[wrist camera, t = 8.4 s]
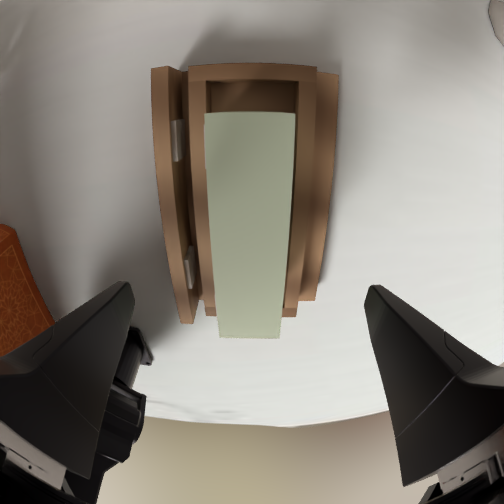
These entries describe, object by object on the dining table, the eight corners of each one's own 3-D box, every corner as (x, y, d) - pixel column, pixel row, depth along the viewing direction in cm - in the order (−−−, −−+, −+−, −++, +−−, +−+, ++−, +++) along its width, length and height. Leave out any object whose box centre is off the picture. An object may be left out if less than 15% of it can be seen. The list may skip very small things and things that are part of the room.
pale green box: (273, 271, 21) (279, 338, 15) (226, 271, 21) (216, 337, 15) (279, 112, 15) (295, 113, 9) (220, 111, 15) (199, 114, 9)
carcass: (311, 290, 24) (320, 324, 20) (191, 288, 24) (180, 323, 20) (332, 76, 15) (354, 69, 11) (173, 76, 15) (151, 68, 11)
